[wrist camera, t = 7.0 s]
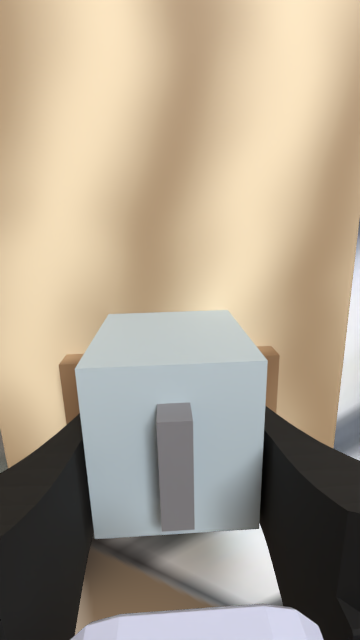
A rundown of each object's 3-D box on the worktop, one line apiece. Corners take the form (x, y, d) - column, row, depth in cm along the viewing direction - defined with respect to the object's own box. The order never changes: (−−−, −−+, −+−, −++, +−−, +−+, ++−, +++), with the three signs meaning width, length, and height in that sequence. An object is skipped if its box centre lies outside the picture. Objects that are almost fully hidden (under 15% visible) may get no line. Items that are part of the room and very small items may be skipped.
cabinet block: (227, 310, 13) (279, 375, 7) (226, 424, 14) (267, 556, 8) (108, 314, 12) (65, 384, 7) (118, 430, 14) (88, 568, 8)
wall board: (369, -51, 11) (419, -117, 9) (317, 466, 16) (340, 501, 14) (-71, -54, 10) (-132, -127, 8) (25, 482, 16) (4, 522, 14)
